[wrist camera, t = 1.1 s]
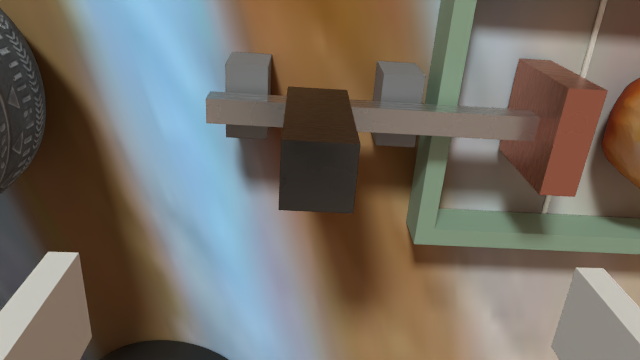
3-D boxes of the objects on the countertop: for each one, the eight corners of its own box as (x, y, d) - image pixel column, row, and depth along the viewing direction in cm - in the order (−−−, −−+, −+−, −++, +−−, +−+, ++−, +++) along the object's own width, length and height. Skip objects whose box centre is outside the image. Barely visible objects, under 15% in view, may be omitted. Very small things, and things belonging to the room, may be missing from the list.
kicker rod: (219, 133, 34) (176, 233, 23) (218, 39, 32) (168, 99, 20) (527, 150, 35) (632, 253, 24) (551, 60, 32) (680, 129, 21)
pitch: (233, 213, 37) (227, 237, 34) (232, -74, 29) (224, -75, 26) (658, 233, 39) (686, 257, 36) (764, -35, 31) (811, -31, 28)
